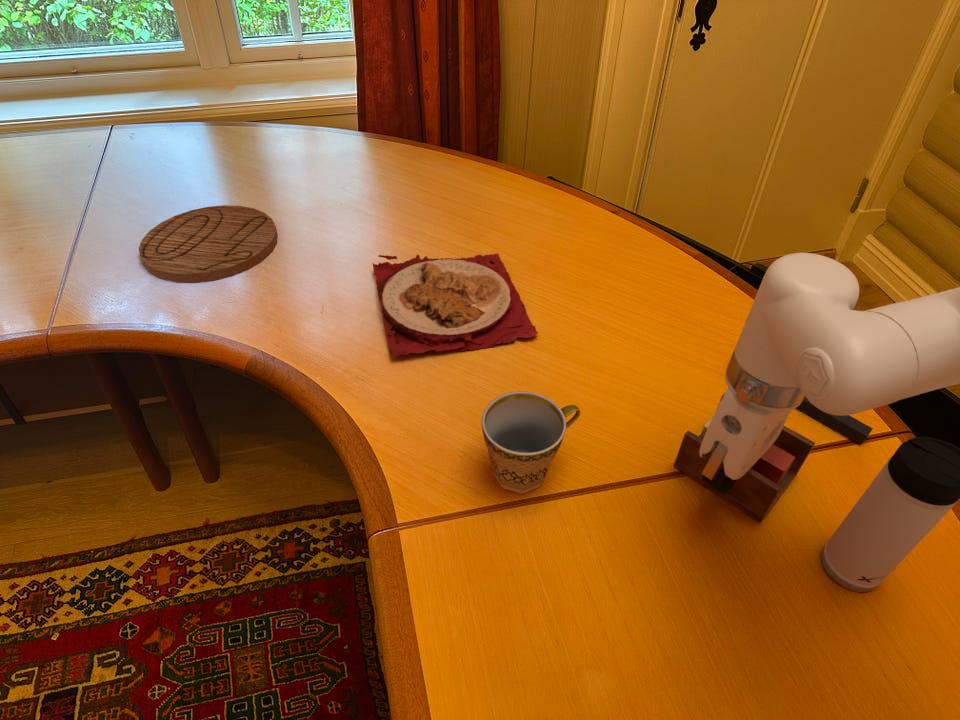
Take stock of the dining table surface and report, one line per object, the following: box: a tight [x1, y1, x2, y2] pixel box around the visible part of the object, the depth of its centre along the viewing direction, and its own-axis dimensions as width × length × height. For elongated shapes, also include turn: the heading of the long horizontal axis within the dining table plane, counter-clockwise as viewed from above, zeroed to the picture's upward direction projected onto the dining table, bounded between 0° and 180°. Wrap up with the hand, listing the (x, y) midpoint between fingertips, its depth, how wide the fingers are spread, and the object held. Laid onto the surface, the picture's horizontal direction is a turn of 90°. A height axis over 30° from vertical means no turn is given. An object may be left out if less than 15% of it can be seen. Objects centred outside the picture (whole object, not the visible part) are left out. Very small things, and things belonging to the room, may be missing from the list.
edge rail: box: [795, 397, 874, 446], centre depth 87 cm, size 20×2×2 cm, turn 42°
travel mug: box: [820, 436, 960, 593], centre depth 62 cm, size 6×7×20 cm
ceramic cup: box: [481, 390, 581, 495], centre depth 75 cm, size 13×10×10 cm
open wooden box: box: [673, 392, 816, 524], centre depth 76 cm, size 12×10×7 cm
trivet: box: [138, 204, 279, 284], centre depth 117 cm, size 25×25×2 cm
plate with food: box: [372, 252, 539, 357], centre depth 103 cm, size 24×26×4 cm
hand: (716, 483), depth 72 cm, fingers closed
